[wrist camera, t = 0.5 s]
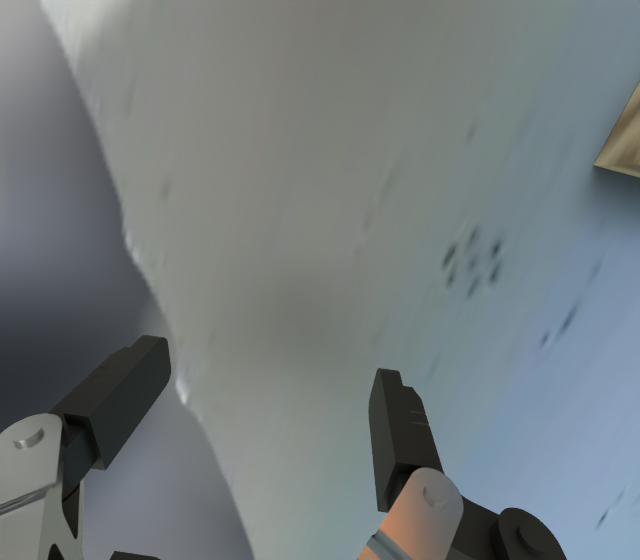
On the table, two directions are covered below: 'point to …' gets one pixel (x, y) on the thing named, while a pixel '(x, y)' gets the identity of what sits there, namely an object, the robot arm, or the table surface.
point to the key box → (624, 141)
